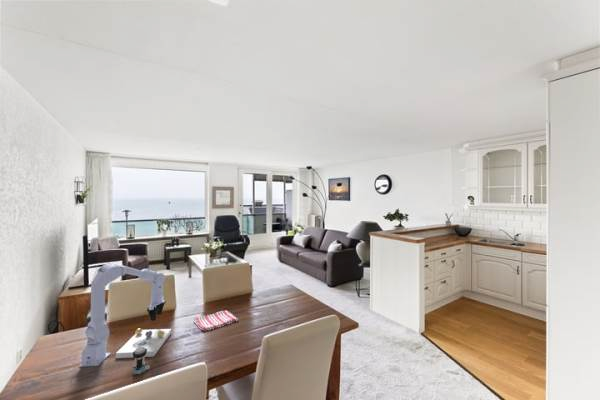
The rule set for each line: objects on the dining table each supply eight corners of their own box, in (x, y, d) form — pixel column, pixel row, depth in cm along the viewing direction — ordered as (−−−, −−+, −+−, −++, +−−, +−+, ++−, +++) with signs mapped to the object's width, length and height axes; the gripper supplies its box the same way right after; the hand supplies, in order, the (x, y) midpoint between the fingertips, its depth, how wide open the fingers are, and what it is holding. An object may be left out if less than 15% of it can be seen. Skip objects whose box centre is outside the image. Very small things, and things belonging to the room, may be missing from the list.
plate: (153, 356, 122) (153, 351, 122) (115, 358, 120) (116, 353, 120) (171, 333, 144) (171, 328, 144) (139, 334, 142) (139, 329, 142)
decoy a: (140, 335, 136) (140, 329, 136) (134, 336, 136) (134, 330, 136) (143, 332, 139) (143, 327, 139) (137, 333, 139) (137, 327, 139)
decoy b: (162, 338, 134) (162, 332, 134) (156, 339, 133) (156, 333, 133) (165, 335, 137) (165, 329, 137) (158, 335, 136) (159, 329, 136)
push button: (149, 366, 115) (150, 344, 115) (149, 373, 111) (150, 350, 111) (132, 370, 112) (133, 347, 112) (131, 377, 107) (132, 354, 108)
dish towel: (192, 322, 159) (192, 317, 159) (227, 312, 174) (227, 307, 174) (202, 333, 146) (202, 327, 146) (239, 321, 161) (239, 316, 161)
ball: (150, 338, 134) (150, 332, 134) (144, 338, 133) (144, 332, 133) (153, 335, 137) (153, 329, 137) (147, 335, 137) (147, 329, 137)
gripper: (158, 298, 137) (158, 323, 137) (169, 289, 152) (168, 311, 152) (145, 298, 136) (144, 323, 136) (157, 289, 151) (156, 312, 151)
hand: (156, 317), depth 144 cm, fingers open, 7 cm apart
